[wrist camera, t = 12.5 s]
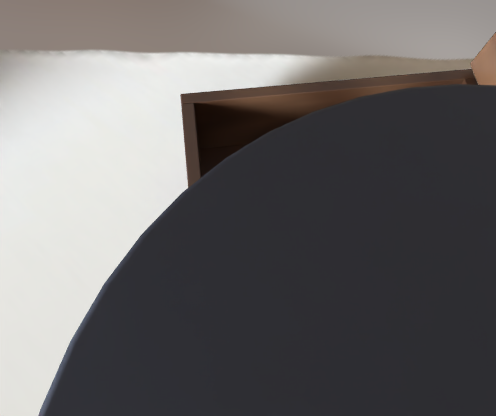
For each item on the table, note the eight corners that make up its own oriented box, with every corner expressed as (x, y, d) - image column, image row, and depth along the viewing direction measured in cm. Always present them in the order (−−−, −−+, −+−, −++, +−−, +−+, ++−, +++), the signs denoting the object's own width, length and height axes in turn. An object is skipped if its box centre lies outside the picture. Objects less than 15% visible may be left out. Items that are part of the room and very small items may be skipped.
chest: (208, 374, 29) (202, 359, 24) (189, 146, 36) (180, 93, 31) (511, 334, 31) (574, 312, 25) (436, 123, 38) (471, 68, 32)
